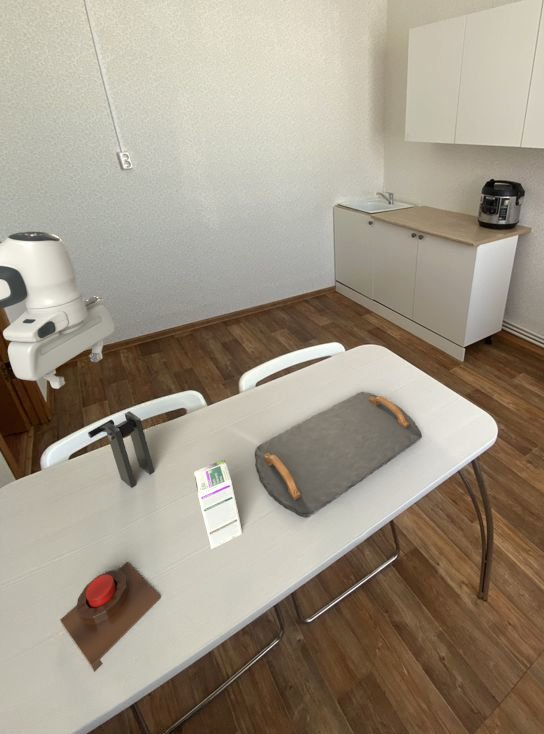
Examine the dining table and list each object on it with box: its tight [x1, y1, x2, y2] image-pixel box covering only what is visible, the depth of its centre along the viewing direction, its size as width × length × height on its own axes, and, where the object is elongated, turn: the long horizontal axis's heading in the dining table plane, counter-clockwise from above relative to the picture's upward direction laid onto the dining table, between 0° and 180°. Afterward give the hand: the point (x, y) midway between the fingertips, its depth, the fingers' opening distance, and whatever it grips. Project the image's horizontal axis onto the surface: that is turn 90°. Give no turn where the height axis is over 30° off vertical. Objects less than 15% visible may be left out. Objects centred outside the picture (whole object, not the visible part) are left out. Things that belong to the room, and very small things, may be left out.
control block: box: [59, 561, 161, 673], centre depth 59 cm, size 10×10×4 cm
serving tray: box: [254, 391, 423, 519], centre depth 90 cm, size 39×23×6 cm, turn 129°
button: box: [86, 575, 116, 607], centre depth 60 cm, size 4×4×2 cm
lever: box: [87, 419, 135, 439], centre depth 83 cm, size 16×5×2 cm, turn 58°
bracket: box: [104, 410, 155, 489], centre depth 81 cm, size 10×8×16 cm
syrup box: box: [193, 459, 243, 550], centre depth 70 cm, size 6×6×14 cm
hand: (79, 372), depth 80 cm, fingers open, 8 cm apart
